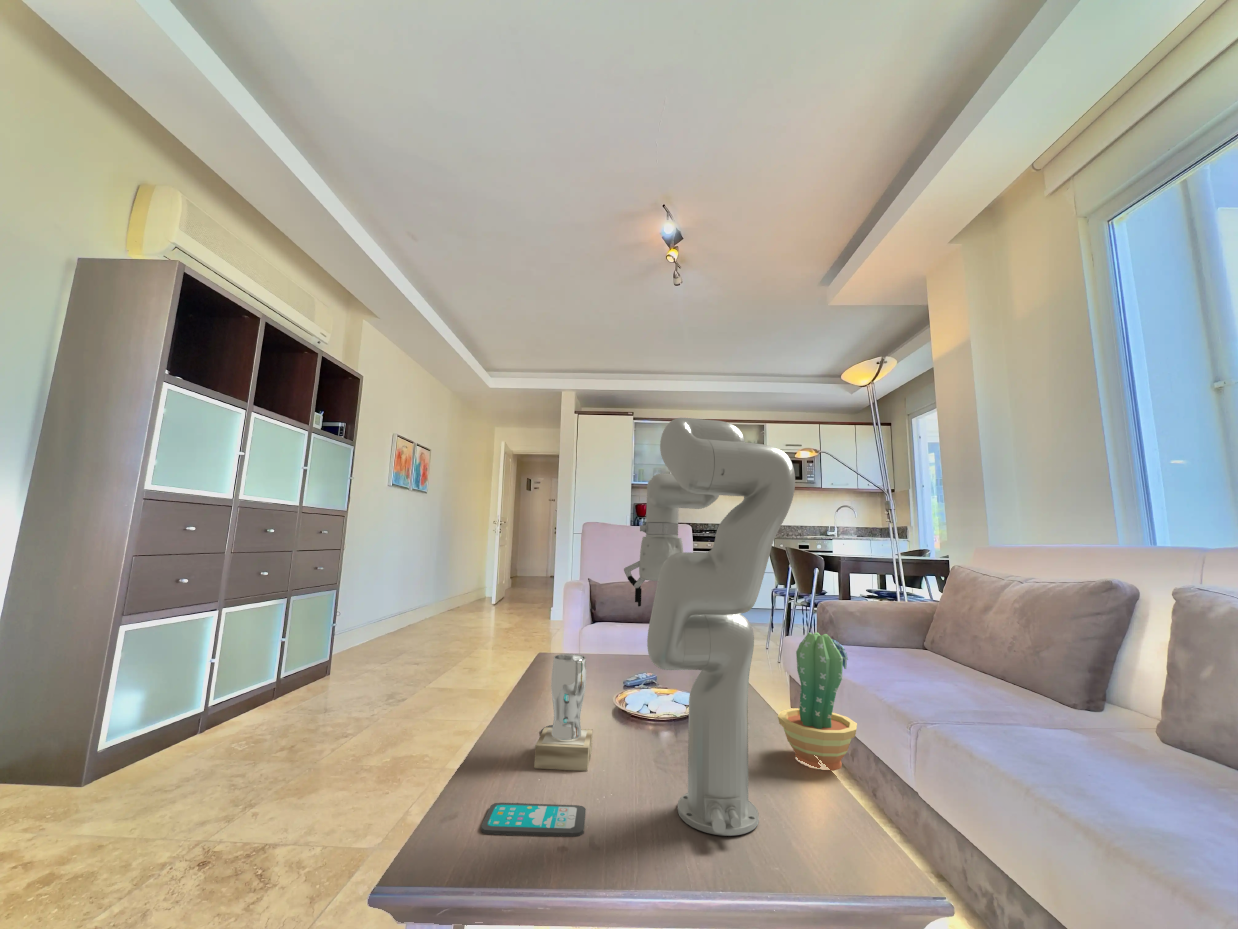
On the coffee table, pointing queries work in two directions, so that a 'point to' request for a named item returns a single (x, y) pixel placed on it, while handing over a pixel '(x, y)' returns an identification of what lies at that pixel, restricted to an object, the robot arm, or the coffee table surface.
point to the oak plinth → (563, 752)
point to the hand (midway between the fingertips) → (660, 606)
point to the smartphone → (534, 820)
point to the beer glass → (568, 696)
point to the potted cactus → (819, 704)
